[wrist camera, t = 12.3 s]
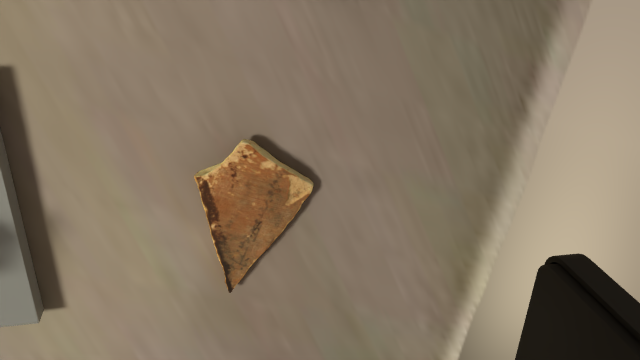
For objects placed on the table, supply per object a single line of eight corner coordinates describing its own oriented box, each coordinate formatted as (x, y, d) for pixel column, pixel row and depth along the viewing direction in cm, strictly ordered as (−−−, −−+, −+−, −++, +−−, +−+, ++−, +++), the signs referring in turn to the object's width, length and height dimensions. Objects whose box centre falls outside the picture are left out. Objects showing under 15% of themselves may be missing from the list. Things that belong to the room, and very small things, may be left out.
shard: (228, 282, 43) (230, 296, 42) (142, 237, 40) (140, 251, 38) (315, 179, 41) (320, 190, 39) (230, 123, 37) (232, 132, 36)
